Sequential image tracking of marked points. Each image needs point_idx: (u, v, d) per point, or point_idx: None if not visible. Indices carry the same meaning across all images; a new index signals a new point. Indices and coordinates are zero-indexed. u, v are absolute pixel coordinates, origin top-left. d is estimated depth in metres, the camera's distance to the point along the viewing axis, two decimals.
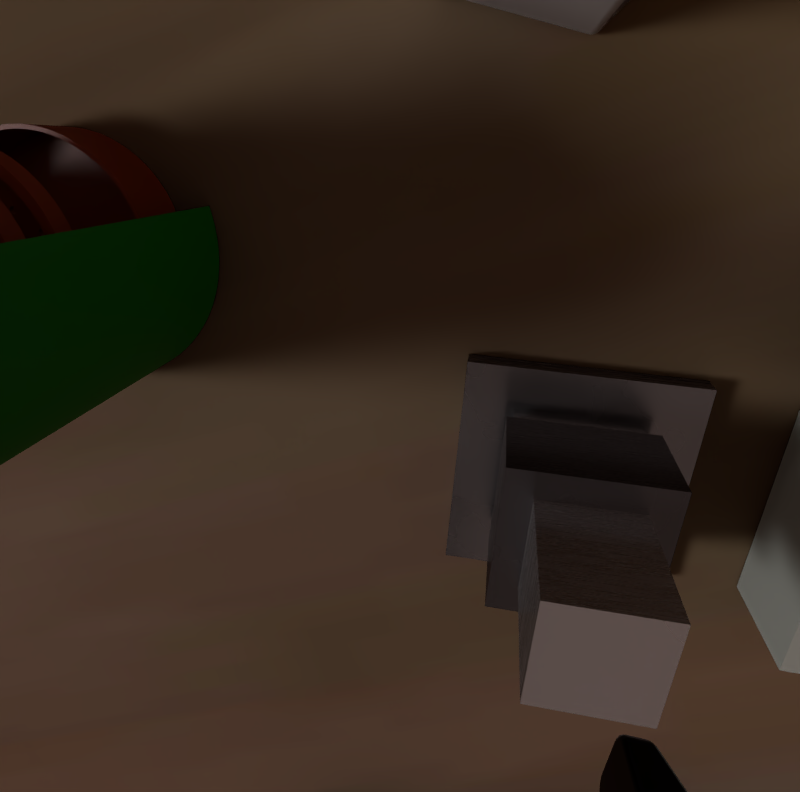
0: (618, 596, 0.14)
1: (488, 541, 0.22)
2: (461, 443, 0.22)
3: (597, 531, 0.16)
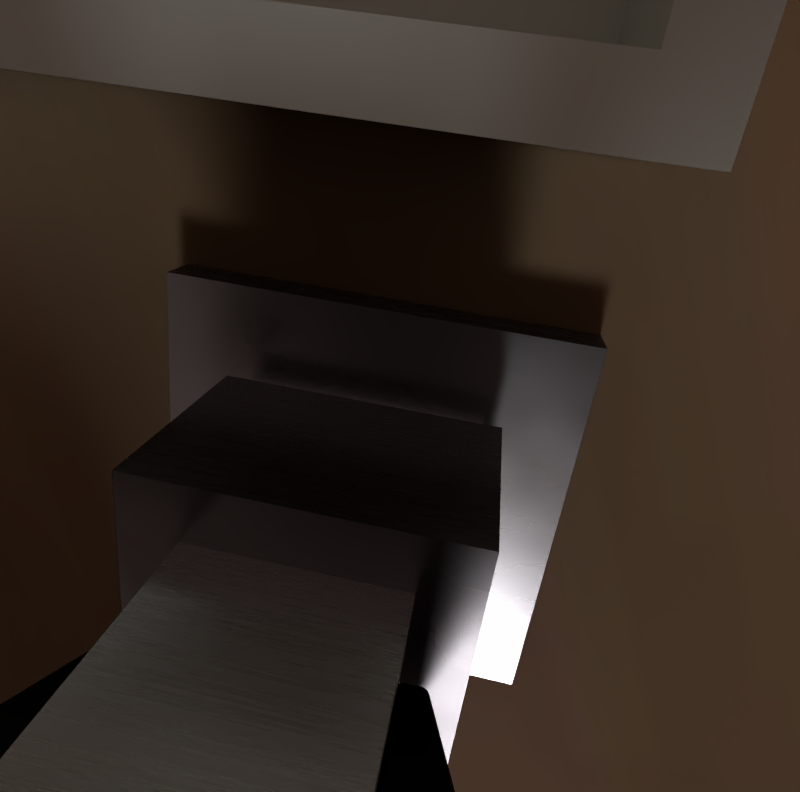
0: None
1: None
2: None
3: None
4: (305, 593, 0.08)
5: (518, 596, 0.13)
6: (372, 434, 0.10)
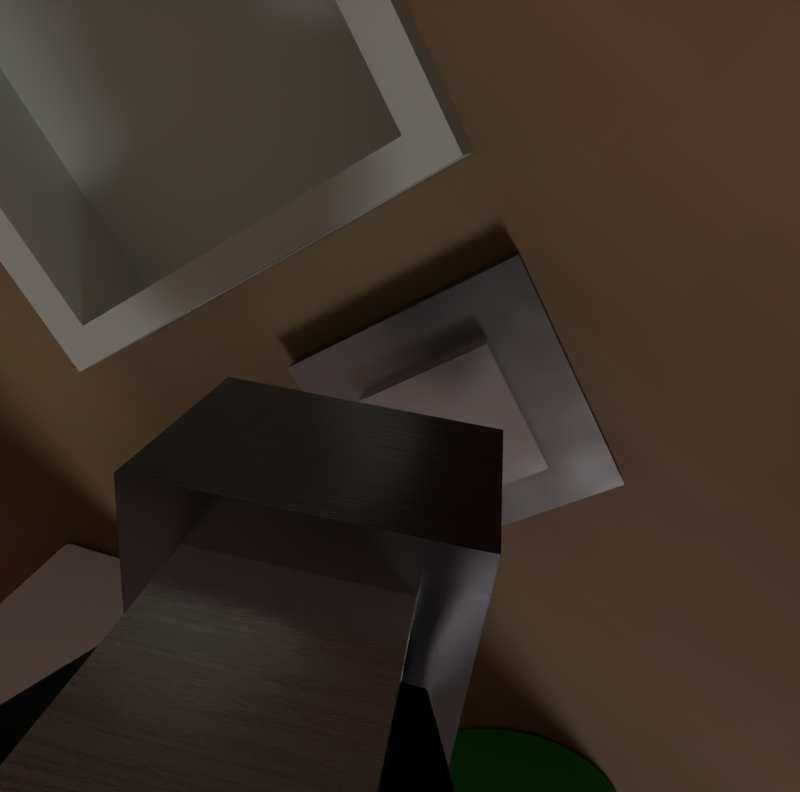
0: None
1: None
2: None
3: None
4: (307, 595, 0.08)
5: (583, 424, 0.19)
6: (374, 436, 0.10)
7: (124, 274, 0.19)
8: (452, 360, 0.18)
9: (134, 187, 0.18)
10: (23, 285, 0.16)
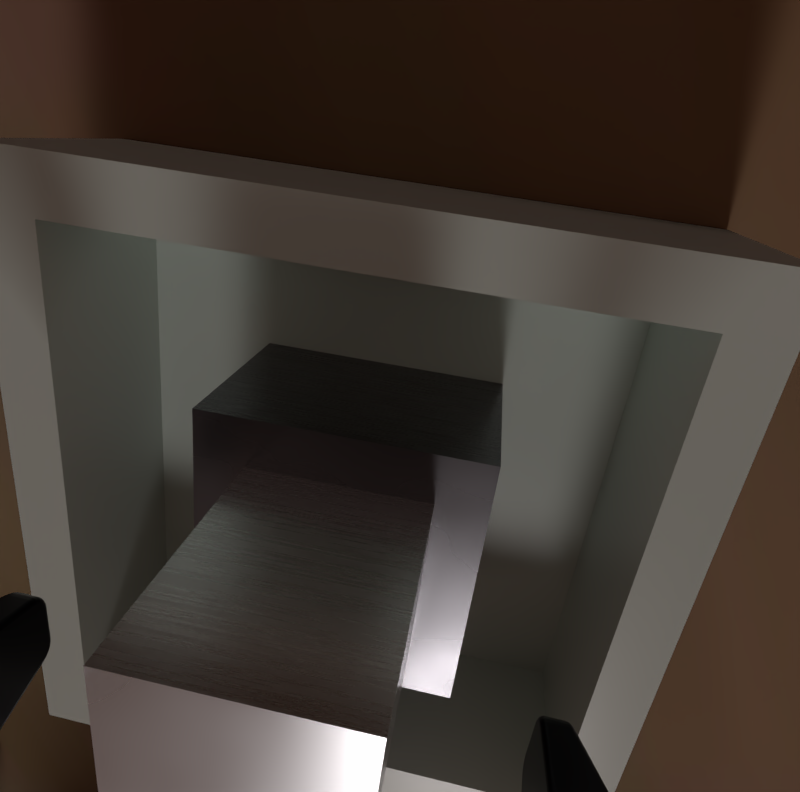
0: None
1: None
2: None
3: None
4: (347, 502, 0.10)
5: None
6: (395, 386, 0.12)
7: (156, 572, 0.15)
8: None
9: None
10: None
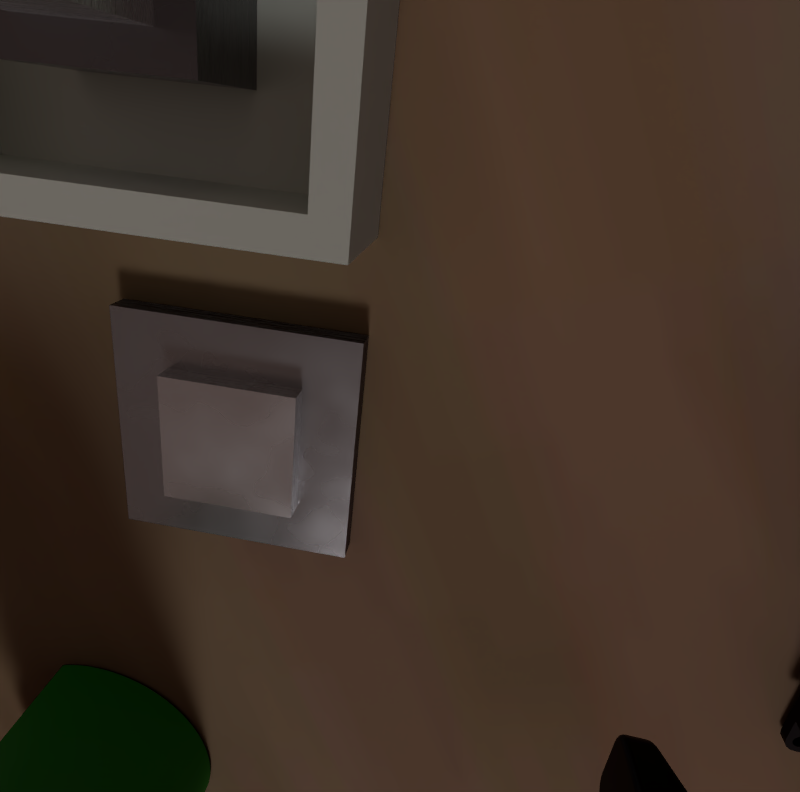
0: None
1: (253, 89, 0.16)
2: (210, 530, 0.22)
3: None
4: None
5: (339, 497, 0.20)
6: None
7: None
8: (260, 393, 0.18)
9: None
10: None
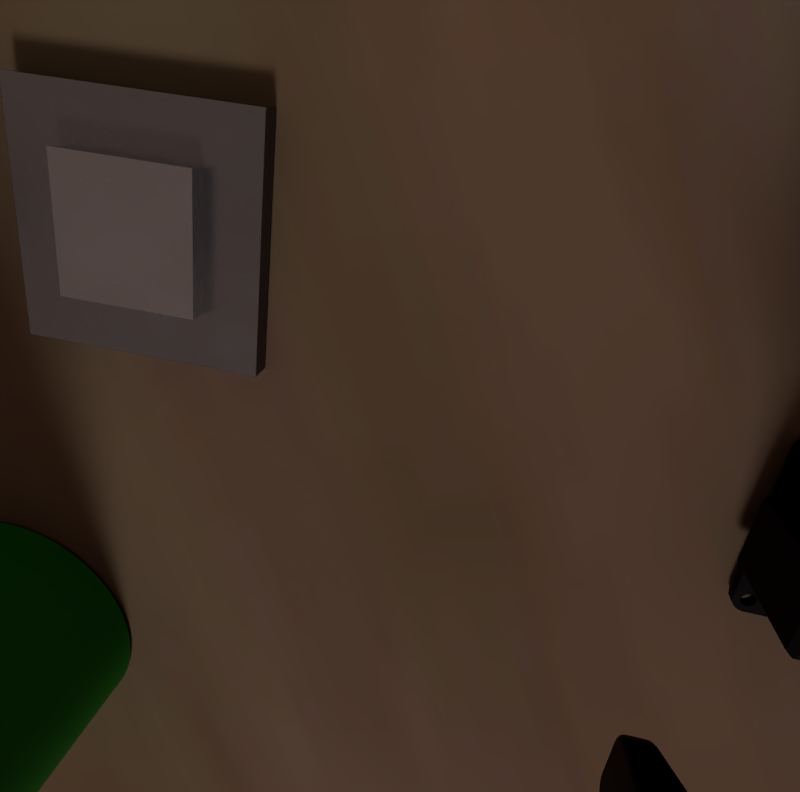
0: None
1: None
2: (115, 346, 0.20)
3: None
4: None
5: (247, 302, 0.19)
6: None
7: None
8: (154, 163, 0.17)
9: None
10: None
